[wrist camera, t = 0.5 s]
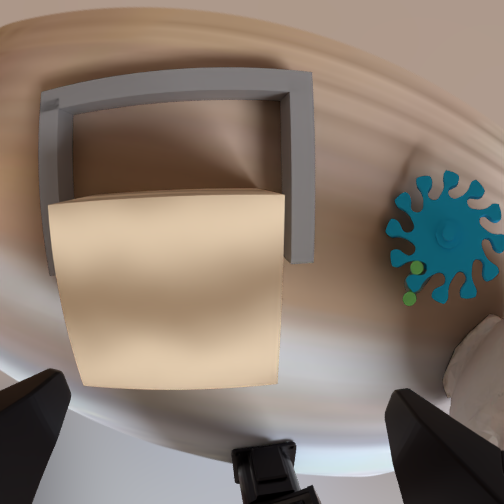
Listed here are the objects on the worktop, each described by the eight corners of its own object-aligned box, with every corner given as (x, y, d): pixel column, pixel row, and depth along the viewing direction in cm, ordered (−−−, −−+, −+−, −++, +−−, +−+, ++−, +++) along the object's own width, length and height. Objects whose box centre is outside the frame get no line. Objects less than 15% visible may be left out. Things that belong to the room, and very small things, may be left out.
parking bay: (302, 253, 22) (313, 262, 20) (64, 265, 20) (49, 275, 17) (300, 82, 19) (312, 72, 17) (56, 99, 17) (41, 92, 14)
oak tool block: (256, 323, 23) (277, 383, 16) (113, 327, 21) (83, 385, 14) (257, 188, 21) (284, 194, 13) (98, 194, 19) (48, 205, 12)
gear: (429, 144, 20) (530, 221, 15) (430, 171, 25) (511, 235, 20) (350, 257, 23) (446, 344, 18) (365, 263, 28) (442, 333, 23)
